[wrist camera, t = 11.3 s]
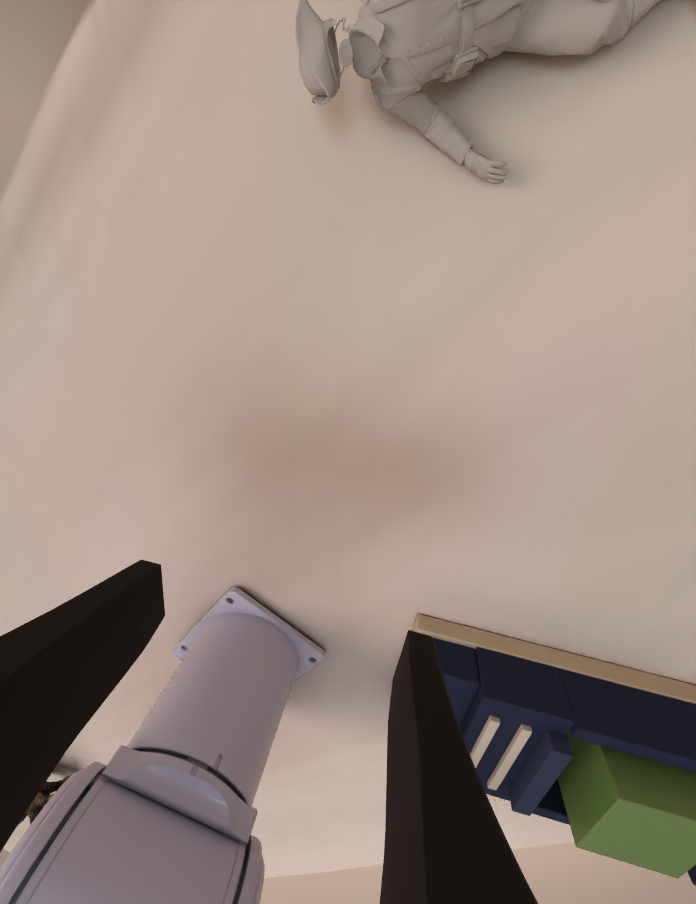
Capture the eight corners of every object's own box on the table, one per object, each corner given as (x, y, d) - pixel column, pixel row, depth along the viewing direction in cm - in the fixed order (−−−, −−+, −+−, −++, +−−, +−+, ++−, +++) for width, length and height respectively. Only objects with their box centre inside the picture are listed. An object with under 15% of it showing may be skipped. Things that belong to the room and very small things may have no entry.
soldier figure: (678, 122, 13) (364, 258, 13) (590, 68, 15) (320, 186, 16) (963, -434, 6) (299, -137, 6) (732, -392, 8) (235, -169, 8)
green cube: (629, 765, 23) (678, 879, 19) (547, 741, 24) (575, 847, 19) (671, 717, 21) (737, 833, 17) (579, 693, 22) (619, 799, 17)
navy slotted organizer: (731, 694, 21) (825, 817, 16) (657, 772, 25) (715, 893, 20) (417, 613, 23) (415, 701, 18) (390, 697, 27) (383, 790, 22)
